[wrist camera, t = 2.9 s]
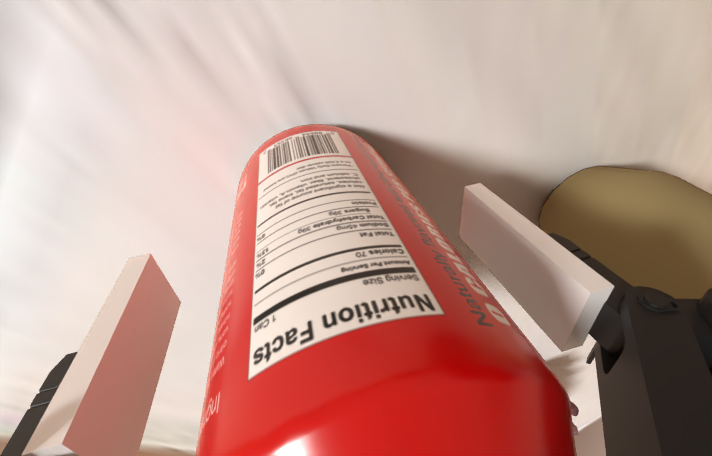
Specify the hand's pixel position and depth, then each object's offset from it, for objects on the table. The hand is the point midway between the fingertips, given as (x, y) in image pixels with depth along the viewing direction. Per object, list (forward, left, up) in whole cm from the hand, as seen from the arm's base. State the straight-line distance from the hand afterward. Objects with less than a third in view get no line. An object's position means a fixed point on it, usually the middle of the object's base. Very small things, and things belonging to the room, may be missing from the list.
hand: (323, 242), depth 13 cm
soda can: (0, 0, -5) cm, 5 cm away
